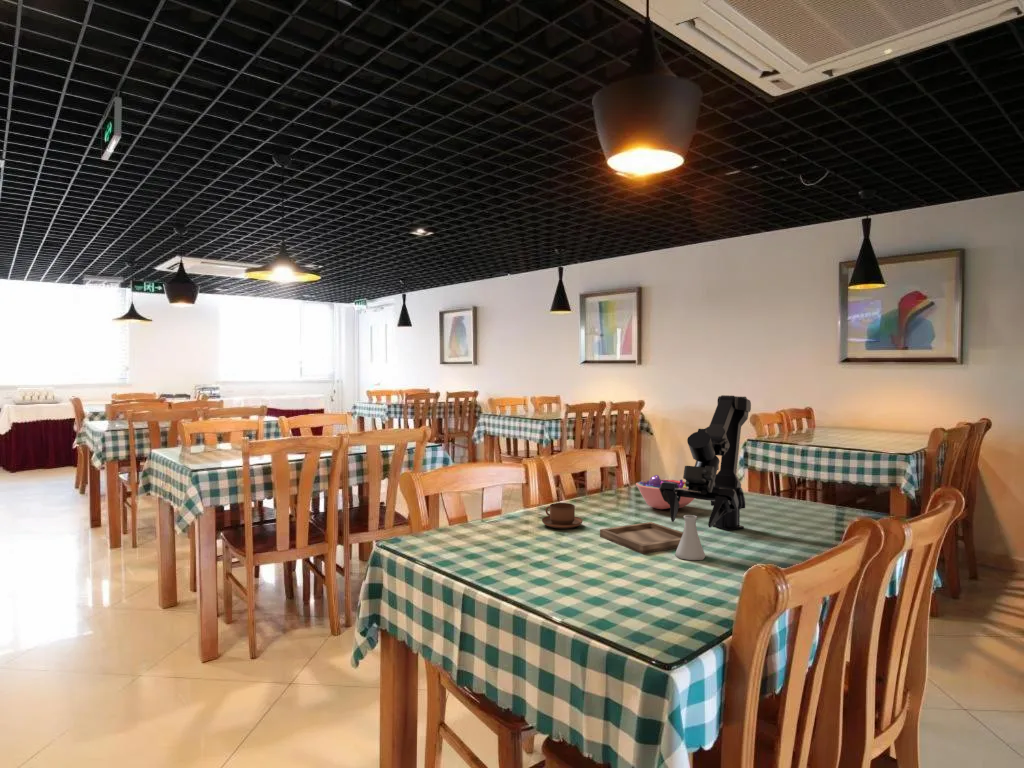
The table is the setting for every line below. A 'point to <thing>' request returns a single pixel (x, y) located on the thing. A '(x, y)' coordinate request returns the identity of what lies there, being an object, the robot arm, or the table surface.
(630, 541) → the walnut tray
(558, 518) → the cup and saucer
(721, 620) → the table surface
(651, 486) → the cell model
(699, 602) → the table surface
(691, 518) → the flask
